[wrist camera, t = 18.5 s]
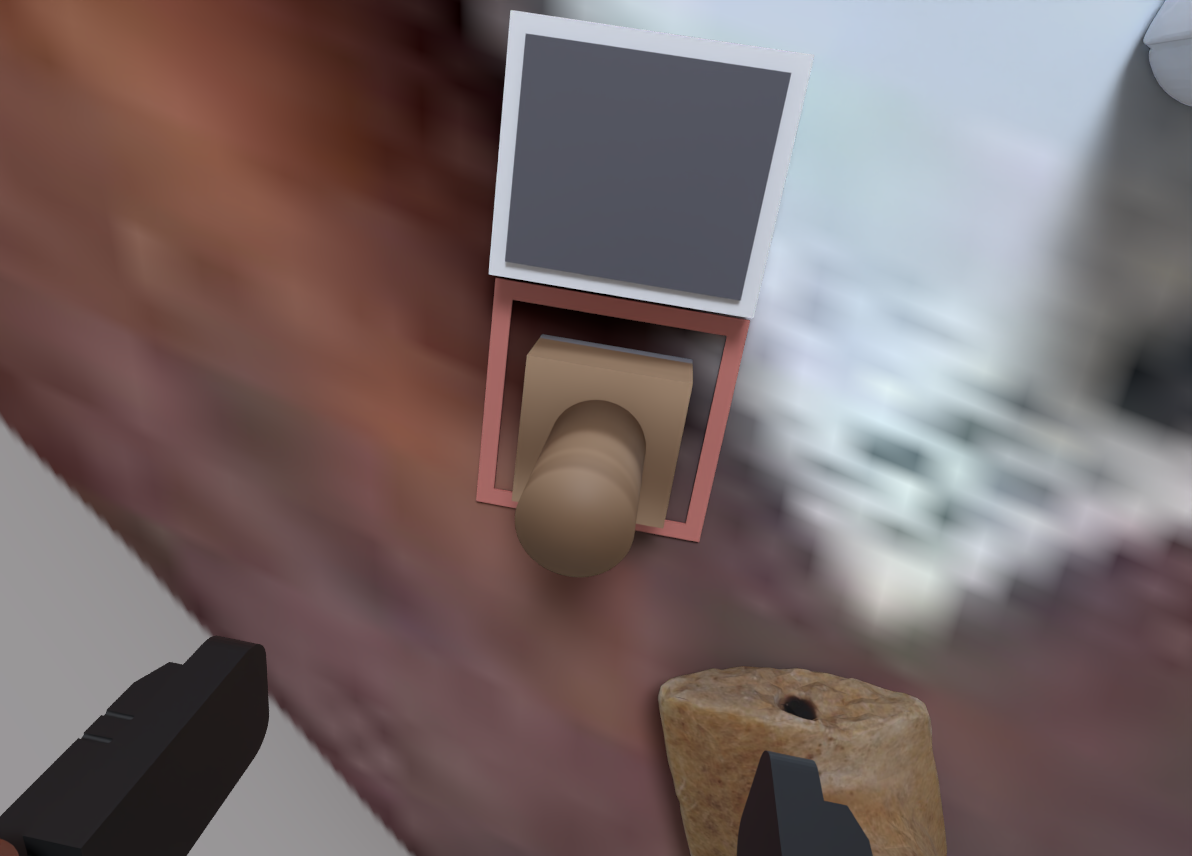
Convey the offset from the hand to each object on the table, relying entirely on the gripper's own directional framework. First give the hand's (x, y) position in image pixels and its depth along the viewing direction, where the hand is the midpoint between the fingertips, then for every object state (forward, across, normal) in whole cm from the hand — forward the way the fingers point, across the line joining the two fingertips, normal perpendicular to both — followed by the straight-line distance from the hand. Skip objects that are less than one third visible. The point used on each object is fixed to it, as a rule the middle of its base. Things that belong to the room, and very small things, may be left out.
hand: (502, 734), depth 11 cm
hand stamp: (+14, 0, 0) cm, 15 cm away
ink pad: (+14, 0, -8) cm, 16 cm away
